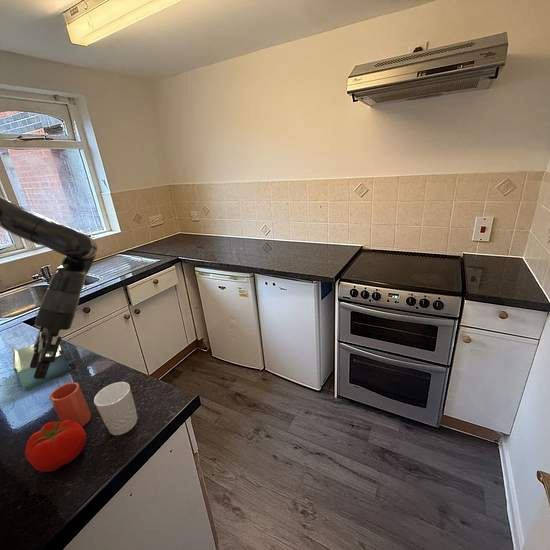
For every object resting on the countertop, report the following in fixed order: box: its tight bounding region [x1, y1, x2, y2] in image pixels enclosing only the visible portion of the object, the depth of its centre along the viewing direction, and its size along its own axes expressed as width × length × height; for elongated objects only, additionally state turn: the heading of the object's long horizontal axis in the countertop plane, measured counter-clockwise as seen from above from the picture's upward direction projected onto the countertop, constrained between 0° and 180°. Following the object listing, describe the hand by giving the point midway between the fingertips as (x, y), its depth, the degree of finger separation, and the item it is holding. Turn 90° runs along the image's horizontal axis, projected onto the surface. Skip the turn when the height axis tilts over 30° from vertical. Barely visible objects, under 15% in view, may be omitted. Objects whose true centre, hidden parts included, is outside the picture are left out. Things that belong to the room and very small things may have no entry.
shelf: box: [12, 343, 71, 392], centre depth 99 cm, size 16×12×8 cm
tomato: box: [24, 419, 87, 473], centre depth 66 cm, size 11×11×9 cm
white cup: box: [93, 381, 139, 436], centre depth 74 cm, size 8×8×10 cm
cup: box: [49, 381, 92, 428], centre depth 76 cm, size 6×6×10 cm
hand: (36, 372), depth 73 cm, fingers open, 8 cm apart
